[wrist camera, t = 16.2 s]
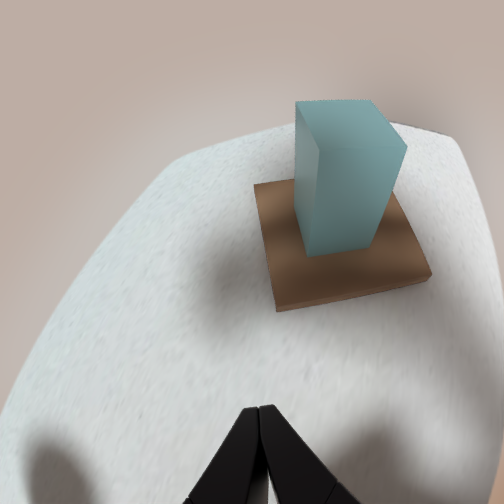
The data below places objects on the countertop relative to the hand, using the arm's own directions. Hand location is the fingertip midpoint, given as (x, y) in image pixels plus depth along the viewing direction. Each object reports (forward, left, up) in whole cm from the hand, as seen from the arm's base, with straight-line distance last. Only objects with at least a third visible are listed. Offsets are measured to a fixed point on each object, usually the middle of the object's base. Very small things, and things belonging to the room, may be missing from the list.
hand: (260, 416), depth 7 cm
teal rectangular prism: (+9, -14, -12) cm, 21 cm away
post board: (+9, -14, -14) cm, 21 cm away
